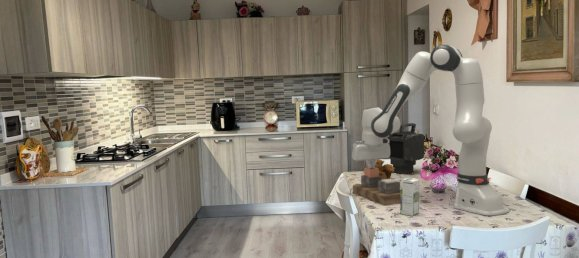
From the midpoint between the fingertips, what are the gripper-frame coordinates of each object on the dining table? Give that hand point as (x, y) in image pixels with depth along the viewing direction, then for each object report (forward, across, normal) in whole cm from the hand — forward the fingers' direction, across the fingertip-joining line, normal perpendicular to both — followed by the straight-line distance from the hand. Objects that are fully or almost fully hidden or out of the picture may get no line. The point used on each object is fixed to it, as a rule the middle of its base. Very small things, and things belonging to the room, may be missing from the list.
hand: (371, 168), depth 214 cm
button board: (+13, 0, -7) cm, 15 cm away
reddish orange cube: (+5, 0, 0) cm, 5 cm away
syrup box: (+13, -5, -35) cm, 38 cm away
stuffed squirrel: (+13, +20, +20) cm, 31 cm away
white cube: (+8, 0, -14) cm, 16 cm away
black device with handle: (+13, +47, +34) cm, 59 cm away
